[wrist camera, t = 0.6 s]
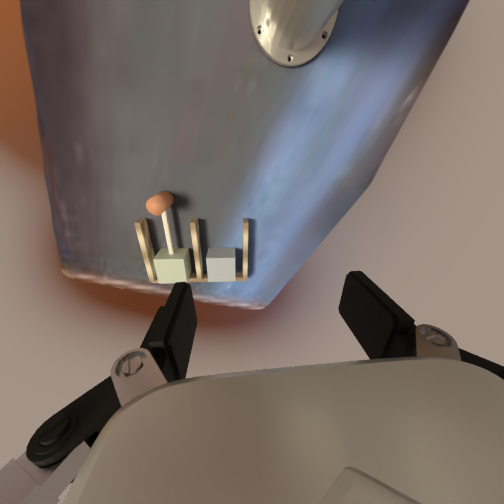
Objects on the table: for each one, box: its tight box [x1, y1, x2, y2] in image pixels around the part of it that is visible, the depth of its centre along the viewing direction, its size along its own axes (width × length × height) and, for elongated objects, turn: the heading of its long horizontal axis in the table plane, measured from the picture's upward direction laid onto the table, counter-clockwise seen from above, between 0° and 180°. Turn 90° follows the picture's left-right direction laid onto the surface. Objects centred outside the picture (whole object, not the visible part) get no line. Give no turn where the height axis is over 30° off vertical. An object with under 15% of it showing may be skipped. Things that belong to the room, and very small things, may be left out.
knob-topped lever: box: [146, 191, 192, 283], centre depth 40 cm, size 18×6×6 cm, turn 178°
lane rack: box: [134, 218, 248, 283], centre depth 43 cm, size 15×22×3 cm
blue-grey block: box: [206, 247, 236, 282], centre depth 44 cm, size 6×6×5 cm
